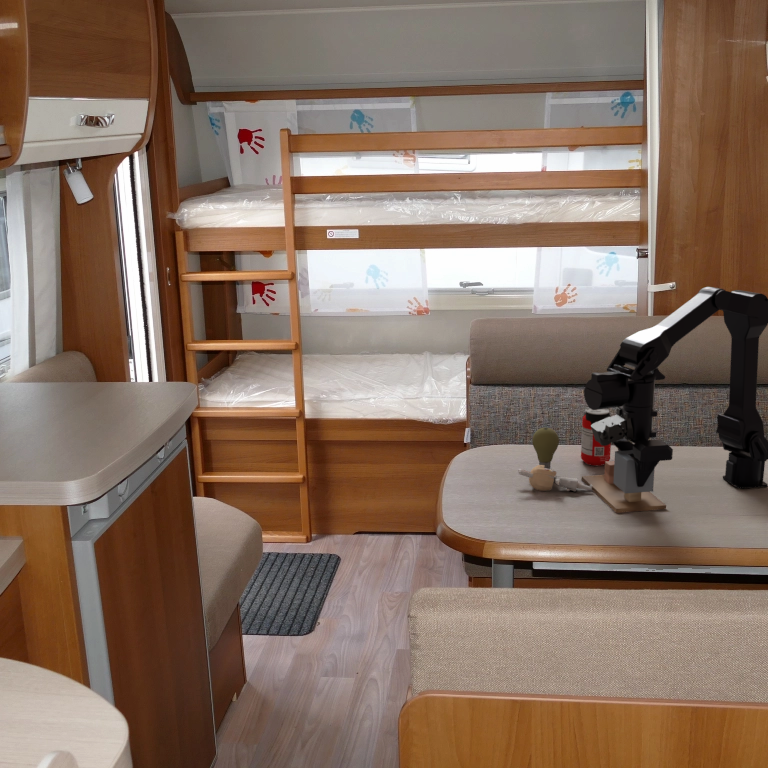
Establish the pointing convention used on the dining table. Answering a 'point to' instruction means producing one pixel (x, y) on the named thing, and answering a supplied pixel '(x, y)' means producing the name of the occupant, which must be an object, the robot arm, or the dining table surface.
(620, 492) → the post board
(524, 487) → the dining table surface
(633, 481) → the matte grey box
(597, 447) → the beverage can
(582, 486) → the toy
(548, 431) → the light bulb
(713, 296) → the robot arm
